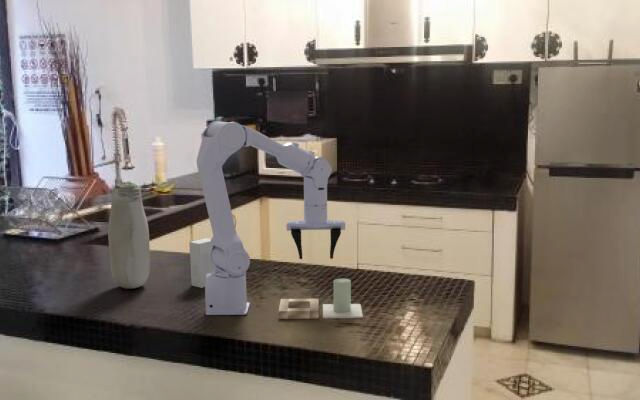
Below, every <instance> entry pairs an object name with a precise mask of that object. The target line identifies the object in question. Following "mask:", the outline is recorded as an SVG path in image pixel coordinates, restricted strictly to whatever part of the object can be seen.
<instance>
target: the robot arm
mask: <svg viewBox="0 0 640 400" xmlns="http://www.w3.org/2000/svg"><path fill="white" fill-rule="evenodd" d="M250 146H251V147H252V148H254V149H257V150H260V151H261V152H265V153H267V154H269V155H271V156H273V157H275V158H276V160H277V163H278V164H279V165H281V166H283V167H284V168H287V169H289V170H291V171H293V172H296V173H297V174H300V176H301V177H302V178H303V218H304V219H303V220H295V221H294V220H293V221H286V231H288V232H290V234H291V237H292V239H293V241H294V243H295V245H296V248H297V252H298V253H297V254H298V257H299V260H303V247H302V231H312V230H313V231H317V230H319V231H320V230H322V231H325V230H327V231H328V230H329V231H330V235H329V236H330V247H329V258H330V259H331V260H332V259H334V253H335V249H336V246H337V243H338V240H339V238H340V236H341V234H342V231H345V230H346V221H345V220H331V219H329V220H328V183H329V181H328V180H329V178H330V177H331V174H332V169H333V168H332V167H331V166H330V162H328V159H326V158H325V157H323V156H315V152H314V151H312V150H306V149H303V148H302V147H299V146H300V144H299V142H295V141H292V142H286V143H284V144H282V143H280V142H278V141H277V140H274V139H272V138H270V137H269V136H267V135H265V134H263V133H261V132H259V131H258V130H256V129H253V128H251V127H249V126H247V125H243V124H242V125H241V124H240V123H238V122H237V121H236V122H235V121H230V122H229V121H228V122H227V121H221V120H214V121H212V122H210V123H209V124H208V125H207V126H206V127H205V129H204V130H203V132H201V142H200V146H199V149H198V153H197V156H196V166H197V170H198V175H199V179H200V184H201V188H202V193H203V197H204V201H205V205H206V210H207V214H208V218H209V223H210V227H211V228H210V229H211V231H212V237H211V238H210V239H211V246H212V248H211V253H210V259H211V262H212V263H213V264H214V265H215V273H213V274H207V275H206V280H205V287H204V292H205V293H204V294H205V296H204V297H205V298H204V299H205V315H206V316H231V315H232V316H234V315H235V316H237V315H238V316H244V315H245V316H246V315H248V312H249V308H250V306H251V302H248V300H247V299H248V298H247V275H246V274H247V271H248V269H249V267H250V265H251V258H250V255H249V253H248V251H247V250H246V249H245V248H244V244H243V241H242V239H241V238H240V236H239V235H238V233H237V229H236V225H235V222H234V216H233V213H232V208H231V203H230V199H229V195H228V189H227V185H226V181H225V177H224V176H225V175H224V171H223V165H224V164H225V162H226V161H227V160H228V159H229V157H230V156H232V155H233V154H234V153H236V152H237V151H238V150H240V149H241V148H242V147H245V148H246V147H250Z"/></svg>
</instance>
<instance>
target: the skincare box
mask: <svg viewBox="0 0 640 400" xmlns="http://www.w3.org/2000/svg"><path fill="white" fill-rule="evenodd" d="M211 239H212V238H207V237H205V238H202V239H198V240H197V239H196V240H194V241H193V240H192V241H189V245H188V246H189V260H190V278H191V279H190V281H191V286H193V287H197V288H200V289H203V288H205V280H206V275H207V274H213V273H215V265H214V264H213V263H212V262H211V259H210V253H211V248H212V246H211Z"/></svg>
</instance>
